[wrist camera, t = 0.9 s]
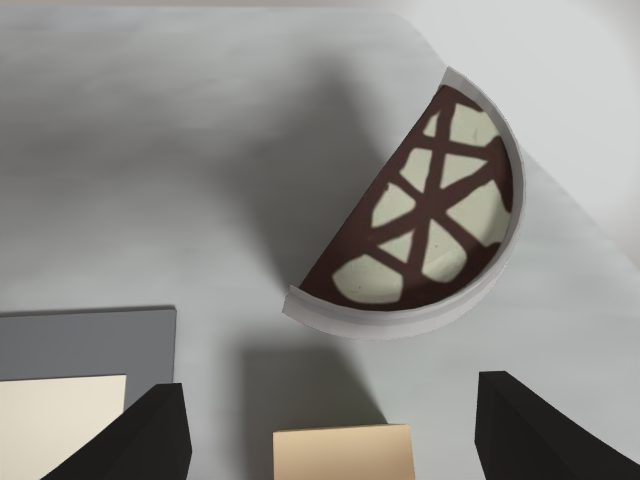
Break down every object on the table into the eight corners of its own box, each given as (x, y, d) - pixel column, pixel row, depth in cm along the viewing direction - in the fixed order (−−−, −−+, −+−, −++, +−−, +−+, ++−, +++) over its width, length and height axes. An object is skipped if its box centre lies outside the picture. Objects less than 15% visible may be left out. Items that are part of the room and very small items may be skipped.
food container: (387, 413, 24) (442, 409, 15) (287, 344, 25) (280, 299, 16) (494, 227, 28) (593, 131, 19) (404, 174, 29) (454, 57, 20)
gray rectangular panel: (160, 631, 21) (158, 635, 20) (-133, 655, 20) (-141, 660, 19) (176, 310, 25) (174, 308, 25) (-58, 321, 25) (-64, 319, 24)
